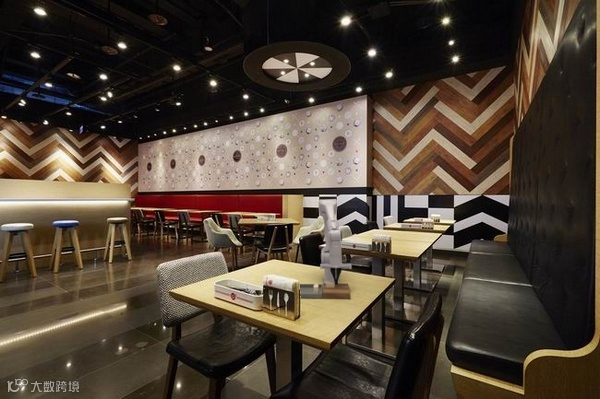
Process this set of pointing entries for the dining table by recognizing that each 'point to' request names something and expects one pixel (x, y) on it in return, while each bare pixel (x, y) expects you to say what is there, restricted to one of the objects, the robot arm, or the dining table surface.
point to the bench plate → (336, 291)
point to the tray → (310, 291)
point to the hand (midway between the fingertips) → (336, 283)
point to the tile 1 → (316, 289)
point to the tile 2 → (329, 283)
